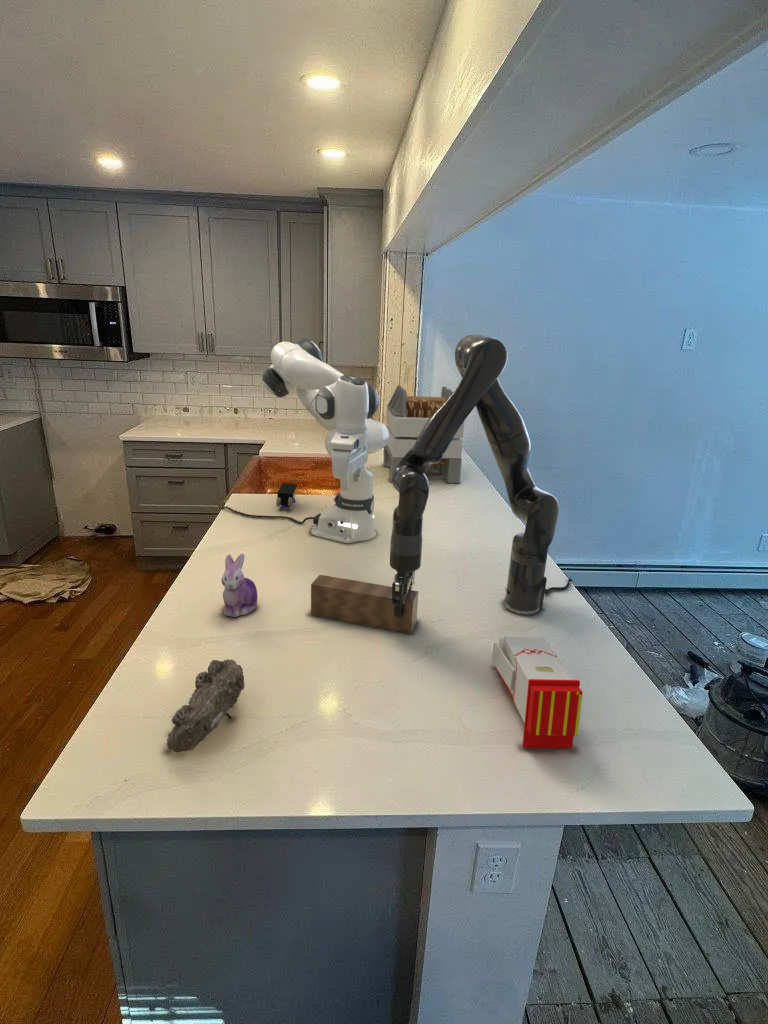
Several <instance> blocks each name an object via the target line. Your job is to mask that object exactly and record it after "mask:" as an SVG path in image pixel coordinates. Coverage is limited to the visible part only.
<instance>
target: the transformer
mask: <svg viewBox="0 0 768 1024" xmlns="http://www.w3.org/2000/svg"><path fill="white" fill-rule="evenodd" d="M454 391H455V390H454ZM454 391H453V390H452V389H451V388H447V386H442V387H441V392H440V393H441V394H440V396H415V395H414V396H413V395H412V396H411V395H407V394H408V393H407V390H406V389H404V388H403V387H402V385H399V384H398V385H397V386H396V388H395V390H394V392H393V394H392V395H391V398H390V400H389V402H388V404H387V405H386V413H385V414H386V415H385V423H386V425H385V426H386V427H387V429H388V432H389V441H388V443H387V445H386V446H385V447H384V448H383V466H384V467H388V468H389V475H388V476H389V477H388V478H389V480H390V482H391V483H392V476H393V472H394V470H395V468H396V466H397V465H398V463H399V462H400V461H401V459H402V458H403V457H404V456H405V455H406V453H407V452H408V451H409V450H410V449H411V448H412V447H413V446H414V444H415V442H416V440H417V438H418V436H419V435H420V433H421V431H422V429H423V428H424V426H425V424H426V423H427V421H428V420H429V418H430V417H431V416H432V415H433V414H434V412H435V411H436V410H437V409H438V408H439V407H440V406H441V405H442V404H443V403H444V402H446V400H447V399H448V398H449V397H450V396H451V395H452V394H453V392H454ZM464 429H465V421H464V422H463V424H462V425H461V427H460V428H459V430H458V431H457V433H456V434H455V436H454V438H453V440H452V441H451V443H450V445H449V447H448V448H447V450H446V452H445V453H444V455H443V457H442V458H441V460H440V461H439V462H438V463H436V464H431V465H430V466H431V467H436V468H437V470H438V469H439V473H440V474H441V475H443V478H444V479H445V481H446V482H447V483H449V484H455V483H456V484H459V483H461V472H462V461H463V460H462V453H463V442H464V441H463V440H462V439H463V438H464V431H465V430H464Z"/></svg>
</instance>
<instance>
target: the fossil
mask: <svg viewBox="0 0 768 1024" xmlns="http://www.w3.org/2000/svg"><path fill="white" fill-rule="evenodd" d="M243 670H244V669H243V667H242V665H240V664H237V662H236V661H235V660H234V659H232V658H231V659H227V658H226V659H224V660H223V661H222V660H217V659H212V660H211V661H210V663H209V665H208V666H207V671H201V672H199V673H198V674H197V675H196V676H195V680H194V684H195V685H194V687H195V689H194V690H193V693H192V694H191V697H190V698H189V700H188V704H184V705H182V706H181V707H180V709H177V710H176V711H175V713H174V715H173V716H172V718H171V723H172V724H173V727H172V730H171V731H170V732H168V734H167V738H166V741H167V742H166V745H167V749H168V750H169V751H173V752H174V753H176V754H178V753H182V752H188V751H189V752H192V751H193V750H195V748H196V747H197V746H199V744H200V743H201V742H203V741H204V740H205V739H206V738H207V737H208V736H209V735H210V734H211V733H212V732H214V730H215V729H217V727H218V726H219V724H220V722H221V721H222V720H223V719H224V718H225V716H226V717H227V719H229V720H233V717H232V715H230V714H229V710H230V709H231V708H234V706H235V704H236V703H237V702H238V699H239V697H240V695H241V693H242V691H243V690H245V689H244V688H245V675H244V671H243Z"/></svg>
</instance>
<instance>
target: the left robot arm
mask: <svg viewBox="0 0 768 1024" xmlns="http://www.w3.org/2000/svg"><path fill="white" fill-rule="evenodd" d="M322 354H323V353H322V352H321V349H320V348H319V346H318V345H317V343H315V342H314V341H312V340H310V339H309V338H306V337H303V338H301V339H299V340H297V341H296V342H295V343H293V342H291V341H280V342H278V343H276V344H275V345H274V346H273V348H272V350H271V351H270V362H271V365H270V366H269V367H268V368H266V369H265V370H264V372H263V374H262V378H261V380H262V382H263V385H264V388H265V389H266V390H267V392H269V394H271V395H273V396H275V397H277V398H285V397H286V396H288V395H289V394H290V392H292V391H293V390H295V393H296V396H297V397H298V399H299V401H300V402H301V404H302V405H303V407H304V408H305V409H306V410H307V412H309V413H310V415H311V416H312V417H313V418H314V419H315V420H316V421H317V422H318V423H319V425H321V427H323V429H325V430H327V431H328V432H327V433H326V436H325V439H324V446H325V449H326V452H327V454H328V455H329V456H330V457H331V471H332V476H333V478H334V479H339V482H340V484H339V485H340V488H339V489H340V490H339V491H338V492H337V494H336V495H335V496H334V497H333V502H334V504H333V505H331V506H329V507H328V508H326V509H325V510H323V512H321V513H320V512H319V513H318V514H316V515H315V516H309V517H308V516H307V517H305V518H304V519H303V520H302V521H298V520H296V519H295V518H294V517H290V516H287V515H286V516H285V515H258V514H249V513H244V512H241V511H239V510H236V509H233V508H231V507H230V506H225V505H224V506H222V507H221V508H220V510H221V511H222V510H224V509H226V510H229V511H230V512H233V513H235V514H239V515H240V516H241V515H242V516H246V517H249V518H264V519H265V518H267V519H287V520H290V521H292V522H294V523H296V524H298V525H303V524H304V523H305V522H307V521H308V520H312V525H313V526H312V528H311V530H310V533H311V536H315V537H319V538H323V539H326V540H330V541H336V542H339V543H343V544H352V543H357V542H365V541H368V540H372V539H373V538H375V537H376V535H377V532H376V528H375V523H374V518H375V515H374V513H373V512H374V509H375V496H374V473H373V471H372V470H371V469H369V468H368V467H367V466H366V465H367V463H368V459H369V455H371V454H375V453H377V452H380V451H381V450H382V449H384V447H385V446H386V445H387V443H388V441H389V432H388V429H387V427H386V426H387V425H385V424H384V423H383V422H381V421H378V420H375V419H372V417H373V416H374V415H375V414H376V412H377V410H378V409H379V407H380V397H379V394H378V392H377V390H376V389H375V388H374V386H373V385H372V384H370V383H369V382H367V380H366V379H365V378H364V377H361V376H358V375H353V374H346V373H345V372H343V371H342V370H340V369H338V368H336V367H334V366H332V365H330V364H328V363H326V362H324V361H323V360H324V359H323V355H322Z"/></svg>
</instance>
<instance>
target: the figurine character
mask: <svg viewBox="0 0 768 1024" xmlns="http://www.w3.org/2000/svg"><path fill="white" fill-rule="evenodd" d="M297 487H298V484H297V483H286V482H283V483H281V485H280V487H279V489H278V491H277V494H276V495H277V497H276V502H275V503H276V504H275V505H276V507H280V508H279V510H280V511H283V509H287V511H290V509H291V507H293V506H294V504H295V503H296V494H295V492H296V489H297Z"/></svg>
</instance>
